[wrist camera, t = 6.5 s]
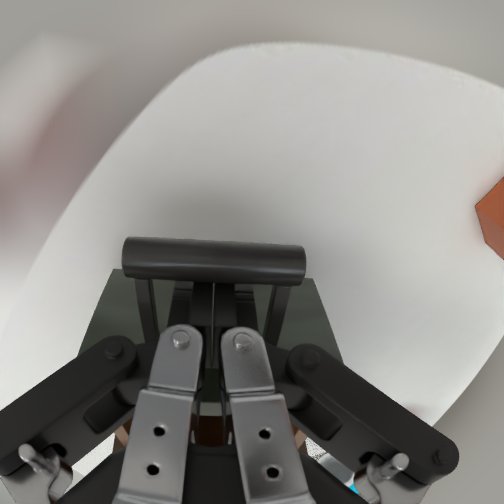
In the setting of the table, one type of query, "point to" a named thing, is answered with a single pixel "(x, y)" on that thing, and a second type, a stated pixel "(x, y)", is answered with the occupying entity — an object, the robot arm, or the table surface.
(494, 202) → the block
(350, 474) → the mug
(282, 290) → the drawer
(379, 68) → the table surface
